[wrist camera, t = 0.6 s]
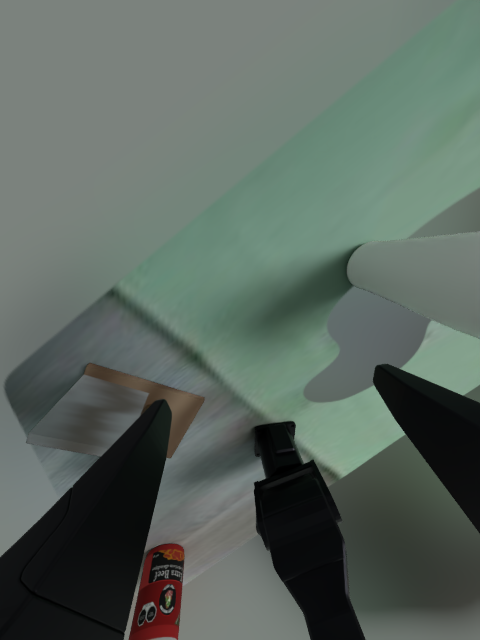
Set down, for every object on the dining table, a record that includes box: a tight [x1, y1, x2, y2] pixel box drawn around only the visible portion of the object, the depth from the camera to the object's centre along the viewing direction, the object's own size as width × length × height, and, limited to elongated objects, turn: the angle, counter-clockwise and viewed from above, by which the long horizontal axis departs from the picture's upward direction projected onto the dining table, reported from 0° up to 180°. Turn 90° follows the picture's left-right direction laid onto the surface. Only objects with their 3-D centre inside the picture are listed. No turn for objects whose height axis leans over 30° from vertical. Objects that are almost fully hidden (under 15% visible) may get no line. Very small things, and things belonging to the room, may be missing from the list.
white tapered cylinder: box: [347, 231, 480, 339], centre depth 16 cm, size 7×7×15 cm
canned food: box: [129, 544, 185, 640], centre depth 36 cm, size 8×8×11 cm
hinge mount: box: [26, 363, 204, 458], centre depth 23 cm, size 14×12×9 cm
